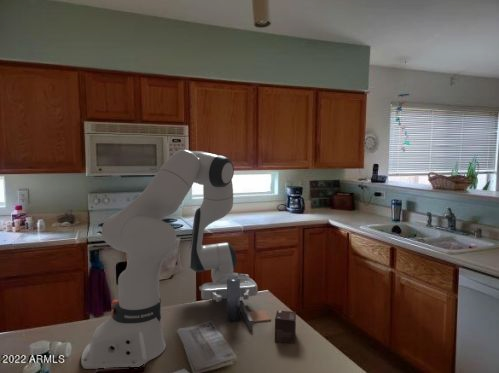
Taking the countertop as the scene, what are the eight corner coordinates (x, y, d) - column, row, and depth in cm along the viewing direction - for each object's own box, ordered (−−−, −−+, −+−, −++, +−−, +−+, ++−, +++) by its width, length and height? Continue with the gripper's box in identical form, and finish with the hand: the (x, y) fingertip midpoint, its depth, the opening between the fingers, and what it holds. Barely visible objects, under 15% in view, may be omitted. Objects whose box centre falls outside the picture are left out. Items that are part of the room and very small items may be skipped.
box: (294, 344, 105) (294, 320, 104) (274, 341, 106) (274, 318, 105) (295, 334, 111) (296, 311, 110) (276, 331, 112) (277, 309, 111)
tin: (228, 323, 117) (228, 282, 116) (225, 317, 121) (225, 278, 120) (240, 322, 118) (241, 281, 117) (238, 316, 122) (238, 277, 121)
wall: (249, 329, 113) (249, 320, 112) (239, 308, 128) (239, 300, 128) (252, 329, 113) (252, 320, 113) (242, 308, 128) (242, 300, 128)
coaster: (251, 322, 117) (251, 321, 117) (246, 313, 124) (246, 312, 124) (271, 320, 119) (271, 319, 119) (265, 311, 126) (265, 310, 126)
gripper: (198, 277, 130) (202, 292, 116) (252, 273, 134) (261, 287, 121) (198, 294, 130) (202, 310, 117) (252, 289, 135) (261, 304, 122)
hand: (233, 298), depth 119 cm, fingers open, 8 cm apart
